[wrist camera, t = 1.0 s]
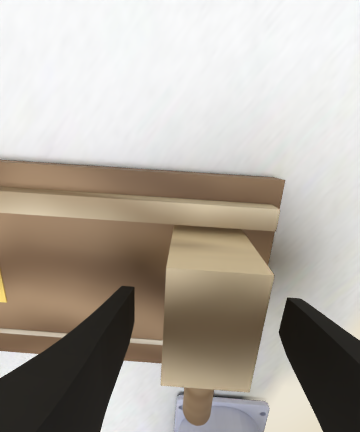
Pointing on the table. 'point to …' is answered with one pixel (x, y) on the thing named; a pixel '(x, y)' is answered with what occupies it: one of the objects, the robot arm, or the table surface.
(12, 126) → the table surface
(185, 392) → the block
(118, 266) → the walnut board
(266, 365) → the table surface
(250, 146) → the table surface
